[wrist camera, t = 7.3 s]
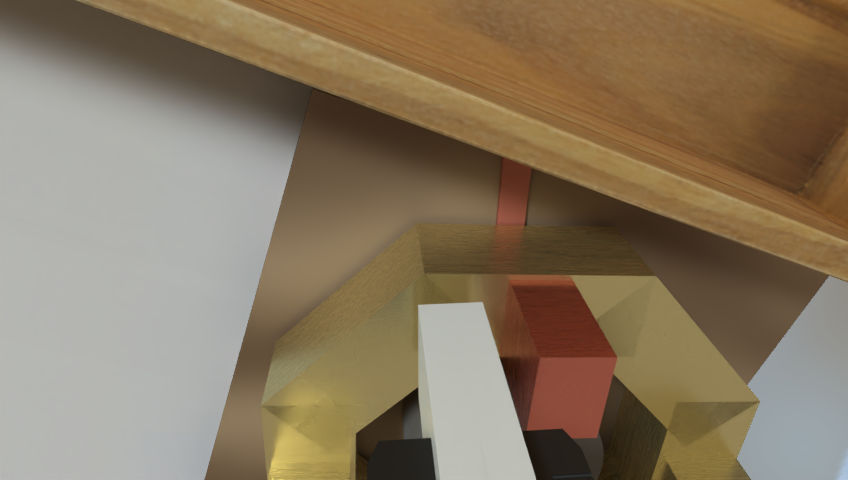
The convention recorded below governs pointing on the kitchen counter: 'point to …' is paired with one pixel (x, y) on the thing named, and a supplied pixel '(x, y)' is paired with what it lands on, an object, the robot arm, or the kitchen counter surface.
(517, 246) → the ring nut
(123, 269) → the kitchen counter surface
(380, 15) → the tray
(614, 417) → the walnut base
